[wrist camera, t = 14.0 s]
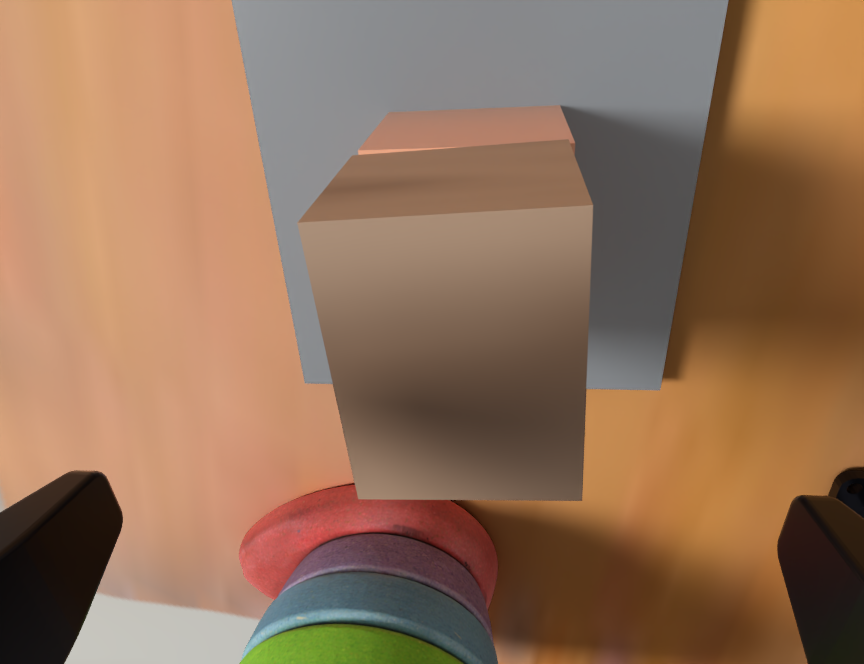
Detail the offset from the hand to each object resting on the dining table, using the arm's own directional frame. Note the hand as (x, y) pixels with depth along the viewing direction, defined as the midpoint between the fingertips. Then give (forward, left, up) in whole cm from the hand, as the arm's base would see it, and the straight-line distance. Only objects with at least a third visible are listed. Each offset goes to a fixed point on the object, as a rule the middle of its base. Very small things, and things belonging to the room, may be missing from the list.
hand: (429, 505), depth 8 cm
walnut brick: (0, 0, -7) cm, 7 cm away
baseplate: (0, 0, -12) cm, 12 cm away
